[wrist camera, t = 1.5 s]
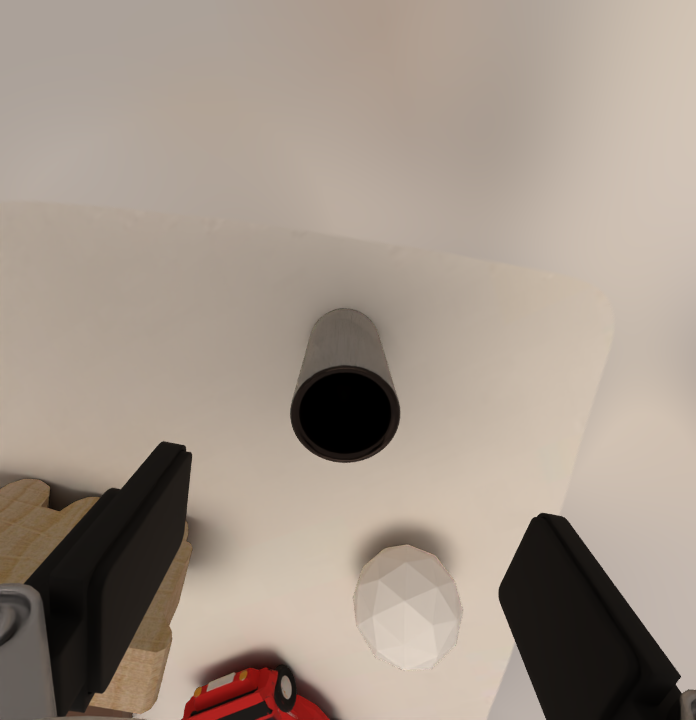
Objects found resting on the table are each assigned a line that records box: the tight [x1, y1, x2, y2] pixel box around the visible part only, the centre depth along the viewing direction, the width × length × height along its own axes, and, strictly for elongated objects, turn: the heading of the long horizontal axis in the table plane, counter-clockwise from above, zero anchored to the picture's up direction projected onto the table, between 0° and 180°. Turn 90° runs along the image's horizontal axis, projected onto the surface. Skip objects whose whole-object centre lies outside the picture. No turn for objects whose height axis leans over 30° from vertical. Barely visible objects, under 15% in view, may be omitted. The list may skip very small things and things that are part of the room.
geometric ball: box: [353, 544, 463, 671], centre depth 29 cm, size 8×8×8 cm
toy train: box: [0, 479, 192, 714], centre depth 26 cm, size 6×17×10 cm, turn 72°
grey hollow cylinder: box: [290, 309, 400, 463], centre depth 21 cm, size 4×4×10 cm
